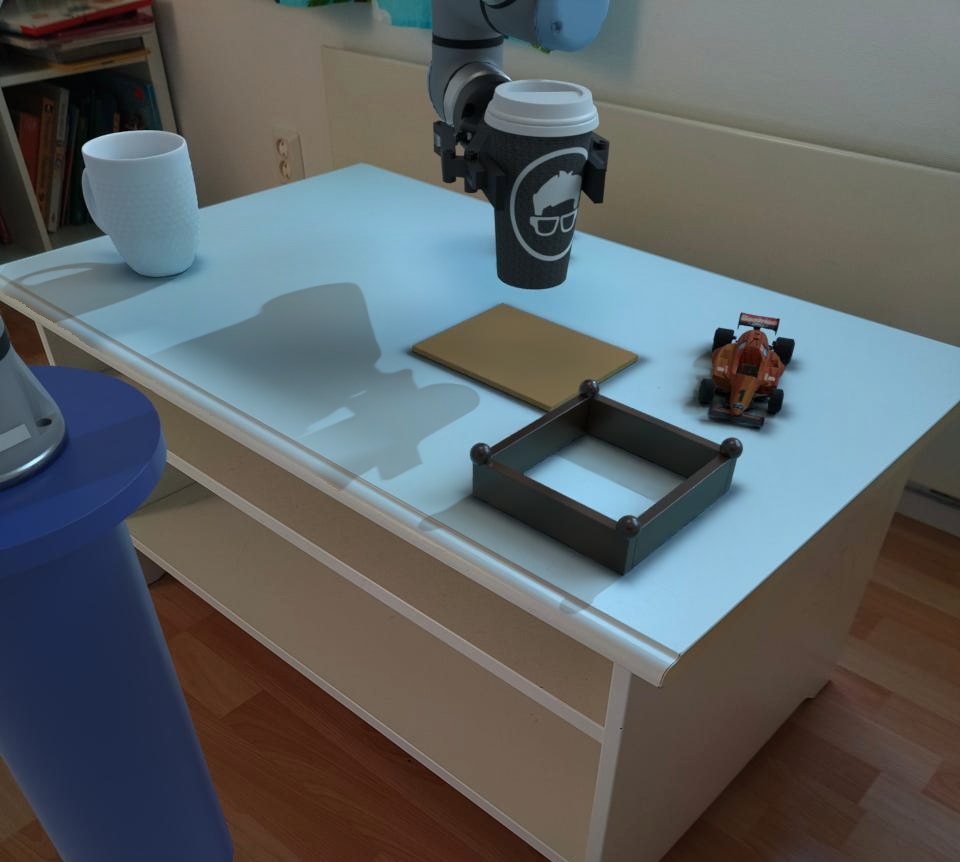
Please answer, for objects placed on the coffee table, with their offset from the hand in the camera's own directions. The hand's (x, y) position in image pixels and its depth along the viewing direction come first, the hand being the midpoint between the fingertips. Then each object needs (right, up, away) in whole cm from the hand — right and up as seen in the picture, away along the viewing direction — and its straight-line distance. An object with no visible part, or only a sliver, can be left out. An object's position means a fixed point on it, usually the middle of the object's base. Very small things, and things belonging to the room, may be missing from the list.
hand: (550, 189), depth 73 cm
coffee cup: (-1, -3, +10) cm, 10 cm away
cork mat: (-1, -9, +16) cm, 18 cm away
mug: (-44, +7, +32) cm, 55 cm away
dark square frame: (+4, -25, -1) cm, 25 cm away
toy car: (+19, -12, +13) cm, 26 cm away
